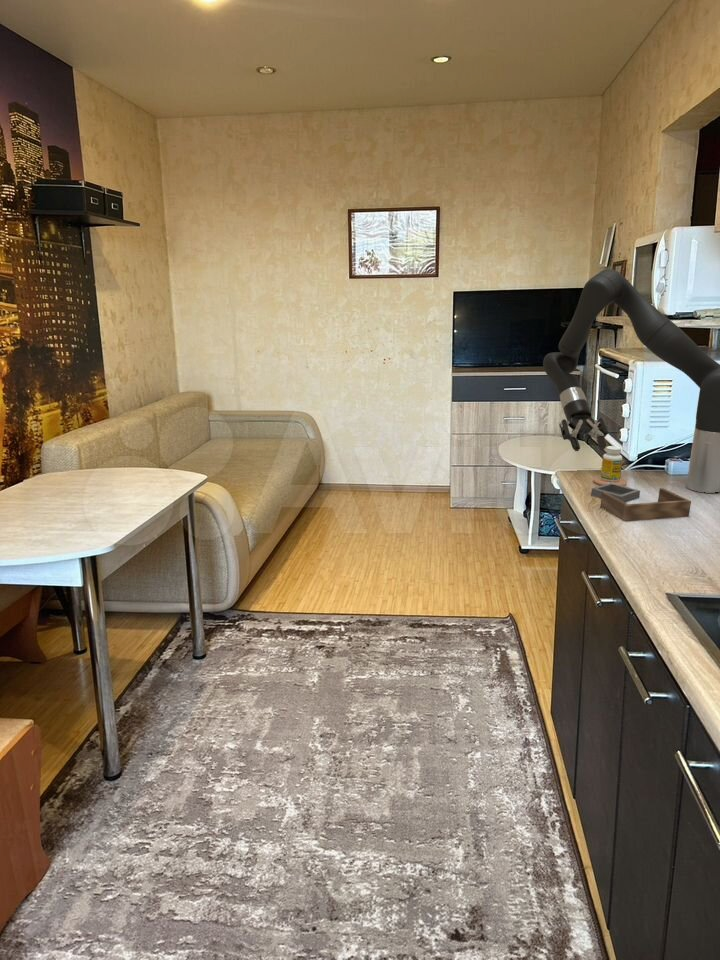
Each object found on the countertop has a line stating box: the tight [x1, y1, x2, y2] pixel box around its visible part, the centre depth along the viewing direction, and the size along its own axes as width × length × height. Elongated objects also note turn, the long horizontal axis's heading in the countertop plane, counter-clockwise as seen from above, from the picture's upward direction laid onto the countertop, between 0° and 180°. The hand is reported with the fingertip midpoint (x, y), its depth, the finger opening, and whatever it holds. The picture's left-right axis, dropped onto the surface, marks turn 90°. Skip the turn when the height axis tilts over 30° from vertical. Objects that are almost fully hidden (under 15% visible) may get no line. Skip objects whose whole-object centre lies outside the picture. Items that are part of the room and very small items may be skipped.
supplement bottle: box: [600, 445, 623, 482], centre depth 195 cm, size 5×5×10 cm
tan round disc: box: [593, 475, 628, 487], centre depth 197 cm, size 9×9×1 cm
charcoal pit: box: [590, 483, 641, 503], centre depth 185 cm, size 9×9×2 cm
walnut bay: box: [599, 487, 692, 522], centre depth 173 cm, size 18×11×4 cm, turn 103°
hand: (590, 449), depth 206 cm, fingers open, 8 cm apart
